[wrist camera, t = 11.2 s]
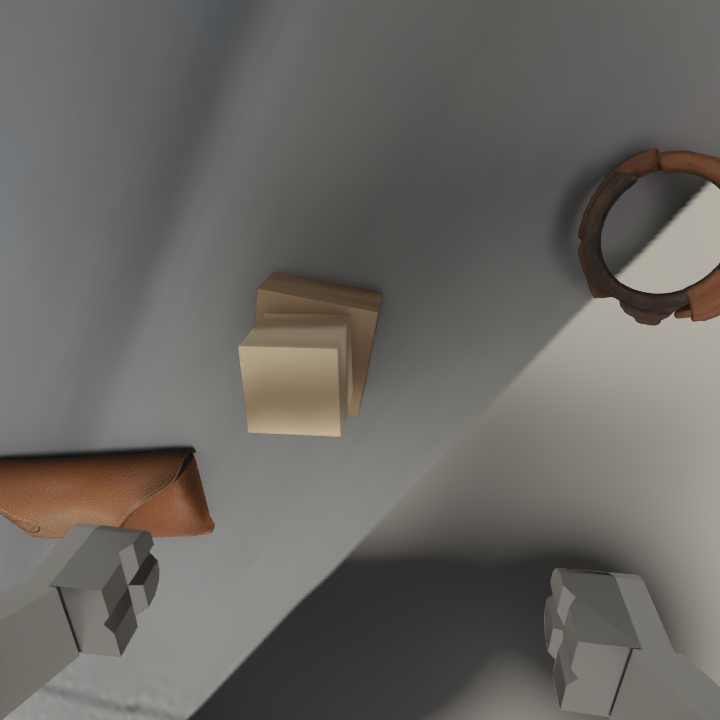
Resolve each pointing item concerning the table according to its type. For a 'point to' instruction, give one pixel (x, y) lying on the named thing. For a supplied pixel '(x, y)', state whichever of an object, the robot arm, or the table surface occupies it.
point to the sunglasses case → (106, 493)
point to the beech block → (297, 374)
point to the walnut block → (327, 299)
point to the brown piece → (695, 301)
